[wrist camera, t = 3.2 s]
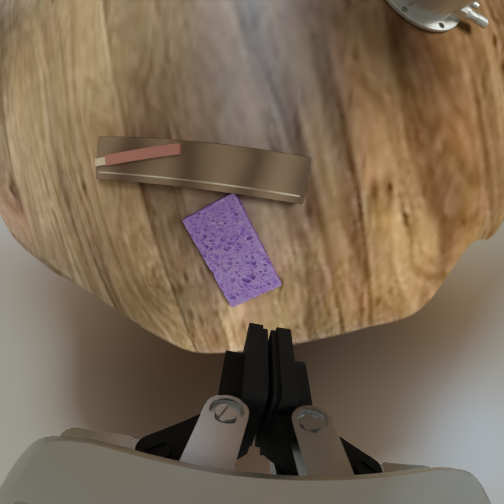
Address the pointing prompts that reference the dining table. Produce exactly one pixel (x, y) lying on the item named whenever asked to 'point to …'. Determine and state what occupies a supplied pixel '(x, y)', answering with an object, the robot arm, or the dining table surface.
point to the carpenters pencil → (139, 154)
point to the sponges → (232, 249)
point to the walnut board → (210, 168)
